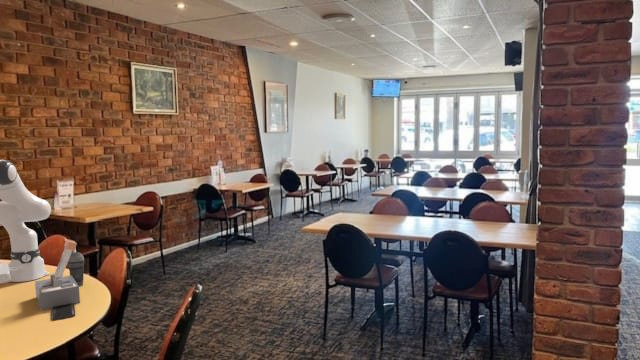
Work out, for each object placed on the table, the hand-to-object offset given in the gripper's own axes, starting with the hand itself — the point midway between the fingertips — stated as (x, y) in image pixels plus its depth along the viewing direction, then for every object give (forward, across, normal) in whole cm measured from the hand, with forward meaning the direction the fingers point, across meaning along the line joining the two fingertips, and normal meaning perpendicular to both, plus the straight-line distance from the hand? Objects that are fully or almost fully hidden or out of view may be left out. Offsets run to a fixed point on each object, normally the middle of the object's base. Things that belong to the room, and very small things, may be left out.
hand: (23, 269), depth 190 cm
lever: (+11, 0, +7) cm, 13 cm away
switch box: (+11, 0, +15) cm, 19 cm away
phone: (+11, -18, +16) cm, 26 cm away
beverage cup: (+22, +17, +15) cm, 31 cm away
